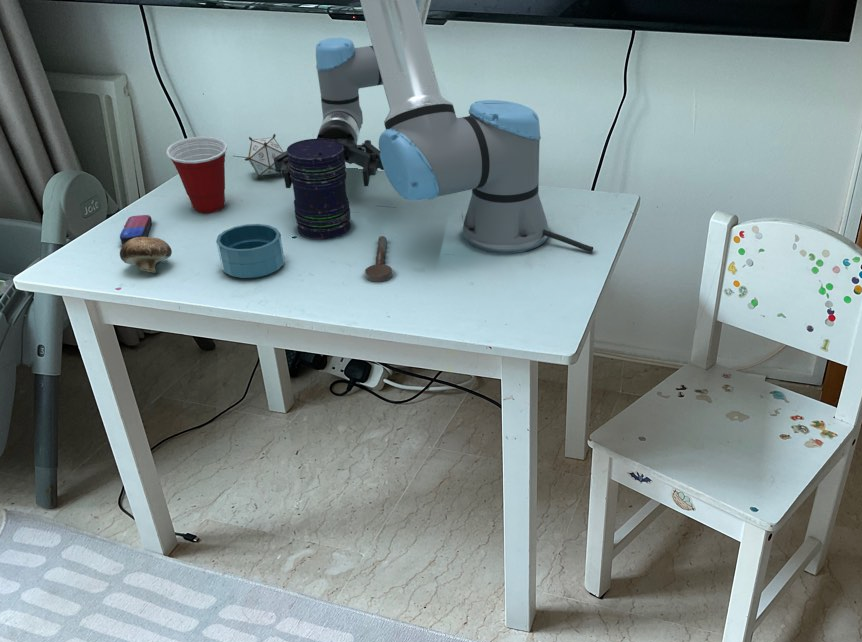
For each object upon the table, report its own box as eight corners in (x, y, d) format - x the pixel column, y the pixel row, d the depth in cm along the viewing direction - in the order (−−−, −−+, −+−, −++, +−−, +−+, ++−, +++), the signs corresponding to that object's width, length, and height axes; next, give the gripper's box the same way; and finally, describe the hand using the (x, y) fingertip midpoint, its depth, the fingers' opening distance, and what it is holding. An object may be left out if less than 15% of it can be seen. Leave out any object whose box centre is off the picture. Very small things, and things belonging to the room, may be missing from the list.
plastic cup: (178, 222, 166) (163, 159, 159) (181, 199, 175) (167, 139, 168) (238, 216, 168) (226, 154, 161) (238, 194, 177) (227, 134, 170)
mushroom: (150, 267, 144) (142, 229, 144) (114, 279, 147) (105, 242, 147) (185, 269, 152) (177, 233, 152) (149, 281, 155) (141, 246, 155)
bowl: (295, 257, 154) (290, 227, 151) (266, 284, 146) (260, 253, 143) (242, 250, 157) (236, 220, 153) (211, 276, 149) (204, 246, 145)
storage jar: (290, 222, 165) (279, 143, 156) (341, 212, 169) (333, 134, 160) (306, 244, 158) (295, 163, 149) (359, 233, 162) (351, 153, 153)
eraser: (131, 222, 166) (128, 213, 165) (154, 220, 167) (151, 211, 166) (119, 247, 157) (117, 237, 156) (143, 245, 158) (141, 236, 157)
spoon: (370, 242, 159) (369, 234, 158) (395, 241, 159) (394, 234, 159) (364, 282, 147) (364, 274, 146) (391, 281, 147) (391, 273, 146)
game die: (276, 188, 189) (293, 143, 188) (280, 188, 181) (298, 142, 180) (234, 170, 185) (252, 124, 184) (237, 170, 177) (255, 122, 176)
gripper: (403, 155, 177) (399, 198, 159) (275, 158, 175) (257, 201, 158) (401, 117, 172) (396, 157, 155) (269, 120, 171) (250, 160, 154)
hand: (326, 179), depth 157 cm, fingers open, 13 cm apart
